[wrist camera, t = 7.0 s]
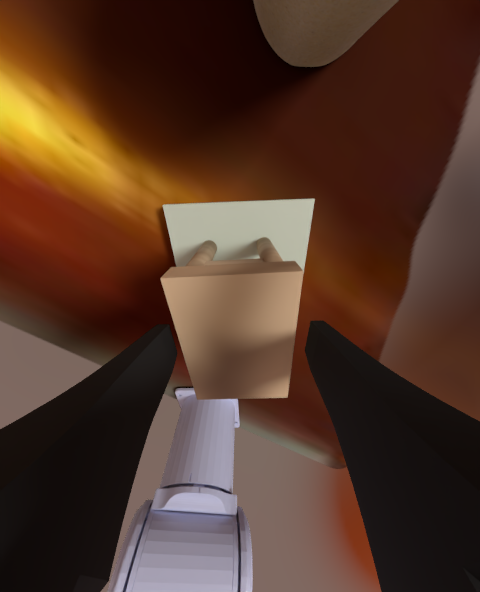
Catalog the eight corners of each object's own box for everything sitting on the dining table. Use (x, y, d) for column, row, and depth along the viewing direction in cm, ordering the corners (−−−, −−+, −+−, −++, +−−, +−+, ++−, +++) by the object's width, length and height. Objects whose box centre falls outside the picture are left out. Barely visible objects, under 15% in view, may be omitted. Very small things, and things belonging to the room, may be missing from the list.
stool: (273, 234, 13) (303, 271, 7) (270, 323, 17) (287, 397, 11) (198, 238, 13) (160, 278, 7) (213, 325, 17) (197, 399, 11)
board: (291, 330, 18) (293, 337, 17) (195, 333, 19) (192, 339, 18) (309, 198, 12) (314, 198, 12) (168, 204, 13) (162, 204, 12)
